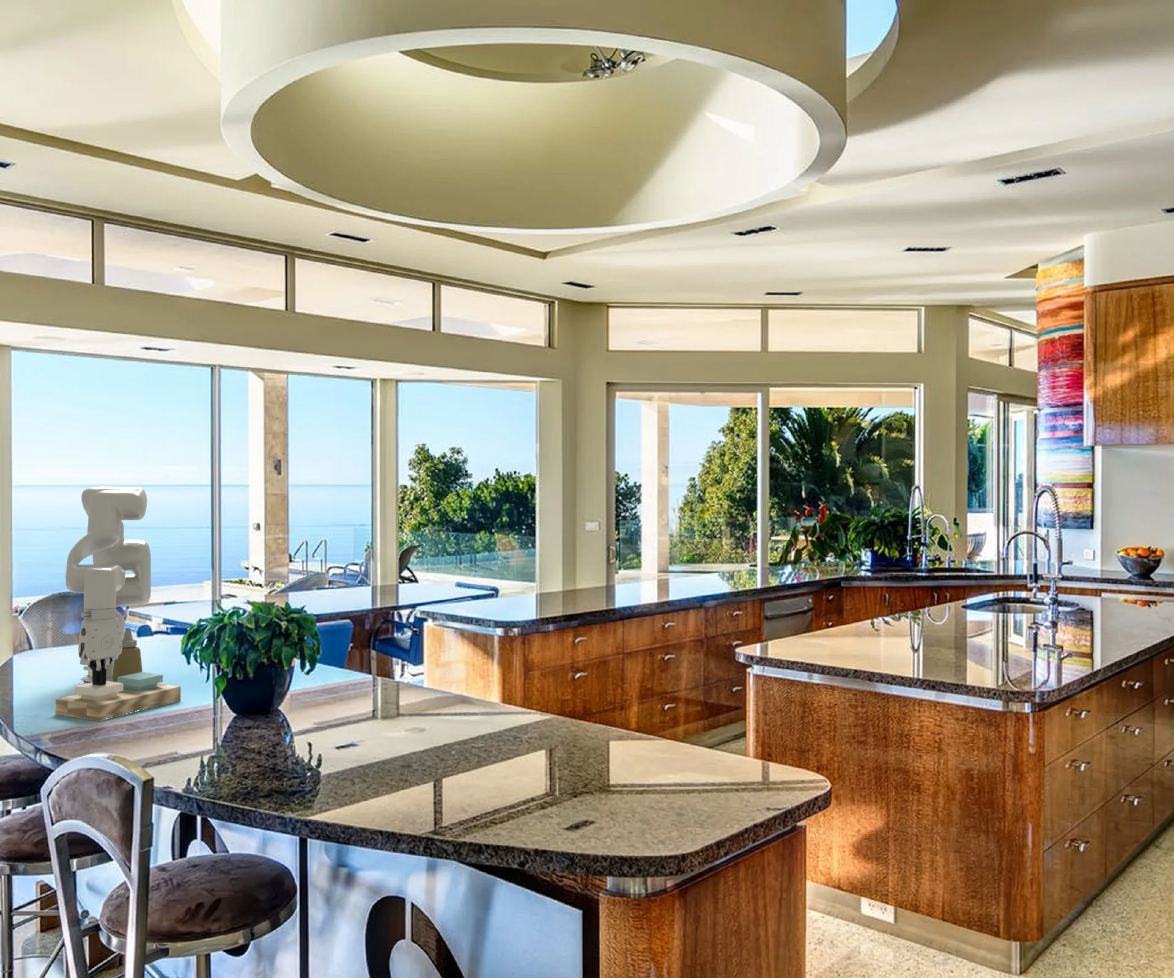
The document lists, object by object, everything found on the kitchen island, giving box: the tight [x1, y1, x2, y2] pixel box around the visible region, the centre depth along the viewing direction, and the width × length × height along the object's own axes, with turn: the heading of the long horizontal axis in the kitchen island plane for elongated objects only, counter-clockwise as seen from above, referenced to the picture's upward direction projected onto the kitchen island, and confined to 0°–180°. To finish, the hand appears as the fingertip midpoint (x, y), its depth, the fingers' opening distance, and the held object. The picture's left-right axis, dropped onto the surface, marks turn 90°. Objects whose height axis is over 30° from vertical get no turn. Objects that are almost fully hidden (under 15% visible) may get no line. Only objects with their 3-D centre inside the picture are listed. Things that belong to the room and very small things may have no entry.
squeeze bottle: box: [112, 627, 143, 682], centre depth 285 cm, size 8×8×18 cm
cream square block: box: [74, 681, 123, 701], centre depth 257 cm, size 8×8×5 cm
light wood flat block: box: [55, 683, 182, 722], centre depth 263 cm, size 26×16×4 cm, turn 155°
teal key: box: [118, 671, 164, 692], centre depth 269 cm, size 8×8×5 cm
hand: (99, 684), depth 257 cm, fingers closed
